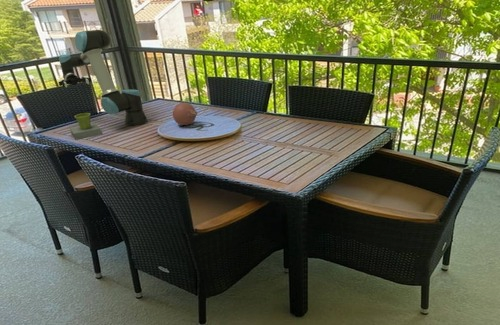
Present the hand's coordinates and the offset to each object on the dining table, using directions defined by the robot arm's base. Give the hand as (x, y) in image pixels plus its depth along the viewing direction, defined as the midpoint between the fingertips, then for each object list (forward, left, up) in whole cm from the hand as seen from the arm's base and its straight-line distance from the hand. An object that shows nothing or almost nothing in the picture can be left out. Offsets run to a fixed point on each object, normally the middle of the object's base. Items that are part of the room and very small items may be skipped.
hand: (77, 83), depth 230 cm
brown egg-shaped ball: (-55, +45, -30) cm, 77 cm away
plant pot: (+4, +15, -26) cm, 31 cm away
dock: (+4, +16, -30) cm, 34 cm away
